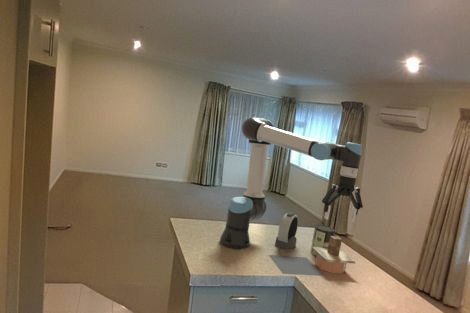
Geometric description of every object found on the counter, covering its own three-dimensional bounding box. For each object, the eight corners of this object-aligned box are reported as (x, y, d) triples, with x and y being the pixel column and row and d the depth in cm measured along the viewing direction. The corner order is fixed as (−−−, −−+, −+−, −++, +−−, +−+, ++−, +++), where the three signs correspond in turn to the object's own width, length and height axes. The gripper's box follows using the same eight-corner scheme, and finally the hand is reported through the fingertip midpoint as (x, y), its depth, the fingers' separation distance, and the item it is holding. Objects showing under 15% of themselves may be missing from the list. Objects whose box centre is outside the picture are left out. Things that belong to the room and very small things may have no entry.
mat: (282, 274, 160) (282, 273, 160) (268, 255, 179) (268, 254, 179) (324, 276, 165) (324, 275, 165) (306, 258, 184) (306, 257, 184)
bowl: (324, 273, 169) (326, 260, 168) (311, 261, 181) (314, 249, 181) (349, 274, 172) (351, 262, 171) (335, 262, 184) (338, 251, 184)
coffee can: (329, 252, 198) (334, 227, 196) (330, 259, 188) (335, 232, 186) (310, 248, 200) (314, 223, 198) (309, 255, 190) (315, 228, 188)
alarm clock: (289, 252, 189) (295, 217, 187) (270, 246, 194) (276, 212, 192) (299, 244, 203) (305, 212, 201) (281, 239, 208) (287, 207, 206)
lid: (325, 261, 167) (329, 242, 166) (311, 248, 181) (314, 231, 180) (355, 263, 170) (358, 244, 169) (338, 250, 185) (342, 233, 184)
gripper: (327, 174, 165) (318, 220, 167) (376, 180, 171) (366, 225, 174) (320, 171, 172) (311, 215, 175) (367, 177, 178) (358, 219, 181)
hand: (339, 220), depth 174 cm, fingers open, 13 cm apart
